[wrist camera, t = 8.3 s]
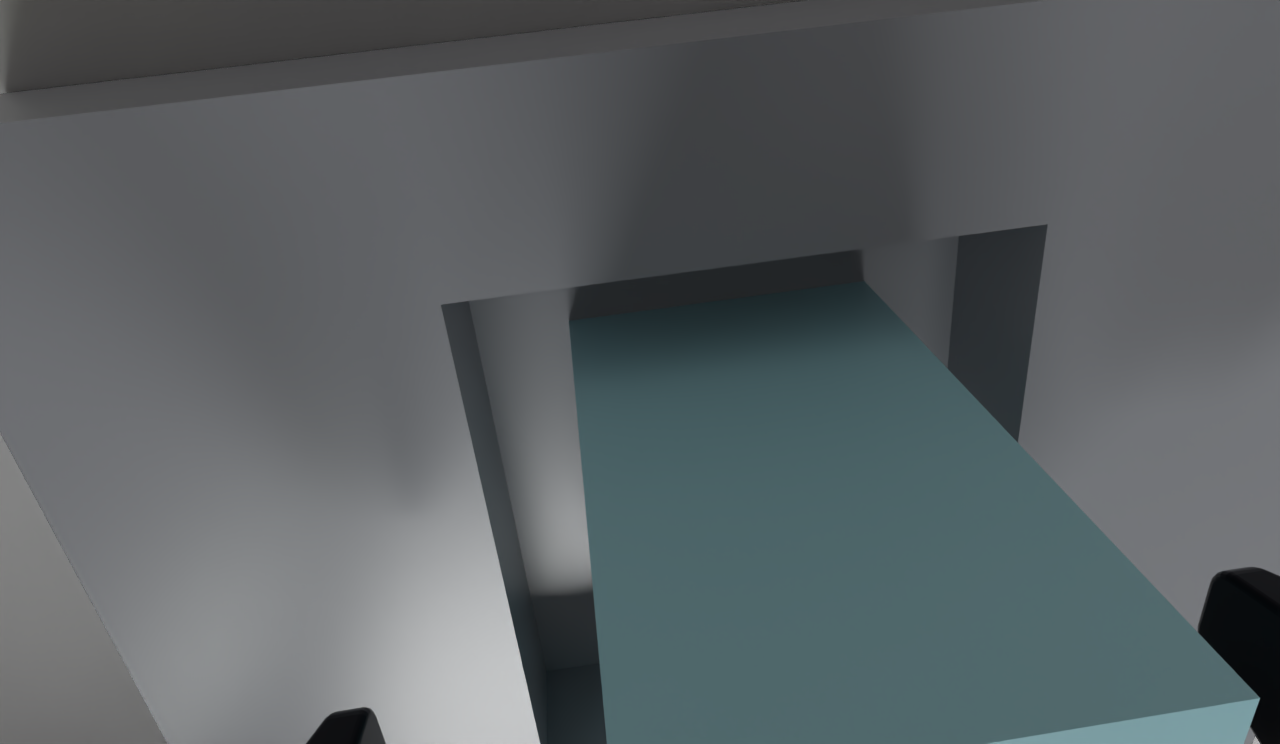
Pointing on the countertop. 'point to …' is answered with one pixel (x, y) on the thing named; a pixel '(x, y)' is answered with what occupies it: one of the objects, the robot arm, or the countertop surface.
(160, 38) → the countertop surface
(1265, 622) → the robot arm
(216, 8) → the countertop surface
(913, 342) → the block
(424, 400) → the outlet plate
